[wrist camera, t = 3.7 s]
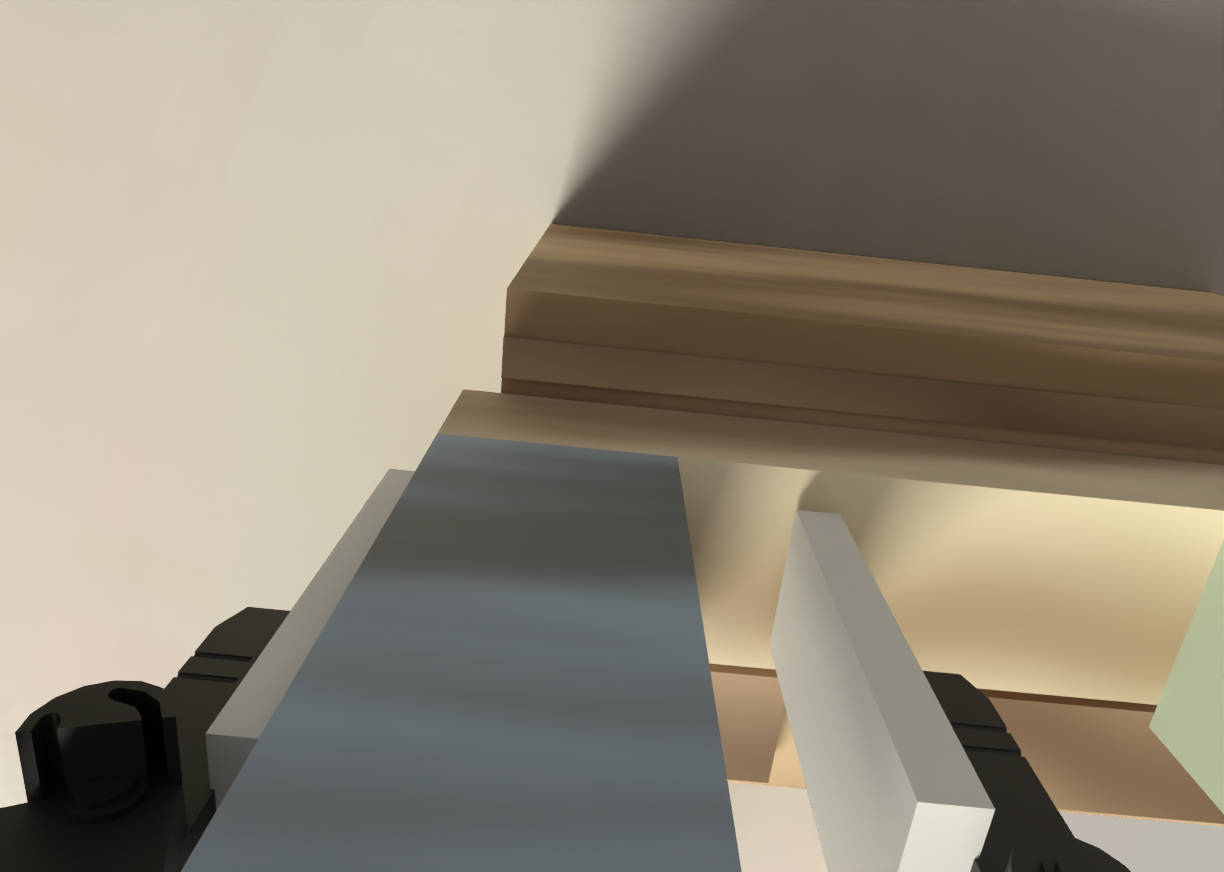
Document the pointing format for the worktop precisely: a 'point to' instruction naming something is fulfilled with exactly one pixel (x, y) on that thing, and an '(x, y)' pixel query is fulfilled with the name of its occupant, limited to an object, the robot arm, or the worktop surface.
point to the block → (1198, 693)
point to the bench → (890, 417)
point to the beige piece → (675, 625)
